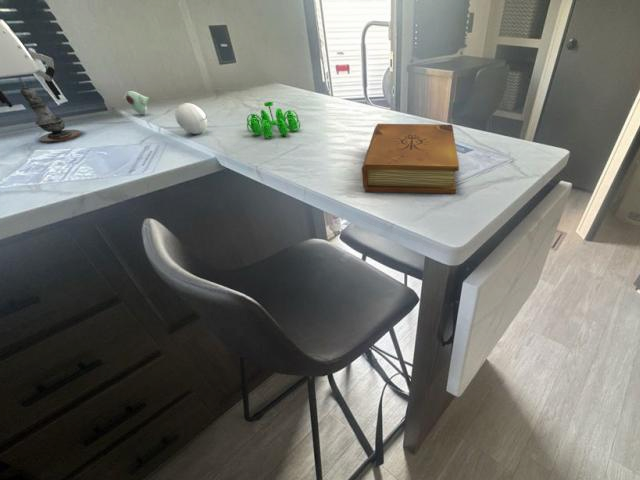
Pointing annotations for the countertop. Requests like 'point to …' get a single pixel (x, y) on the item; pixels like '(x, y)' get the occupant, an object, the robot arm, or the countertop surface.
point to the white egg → (191, 118)
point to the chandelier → (272, 122)
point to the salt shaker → (44, 114)
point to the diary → (411, 159)
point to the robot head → (136, 101)
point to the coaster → (55, 140)
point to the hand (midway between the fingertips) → (35, 102)
